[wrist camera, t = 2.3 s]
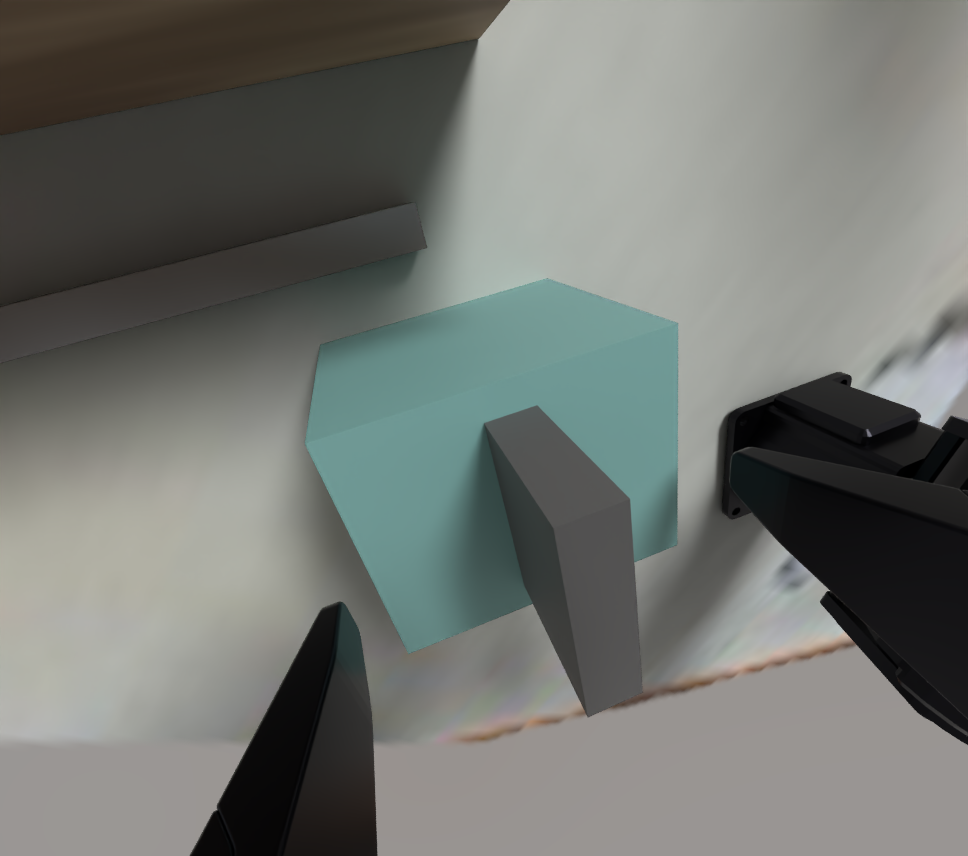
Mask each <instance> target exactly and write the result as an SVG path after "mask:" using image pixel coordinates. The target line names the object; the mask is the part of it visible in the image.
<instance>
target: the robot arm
mask: <svg viewBox="0 0 968 856" xmlns="http://www.w3.org/2000/svg"><path fill="white" fill-rule="evenodd" d="M851 380H852V378H851V376H850V375H848V374H845V373H842V372H836V373H833V374H831V375H828V376H825V377H822V378H820V379H817V380H814V381H811V382H809V383H806V384H803V385H800V386H798V387H795V388H792V389H789V390H787V391H784V392H781V393H778V394H776V395H773V396H770V397H767V398H765V399H762V400H759V401H756V402H754V403H751V404H748V405H745V406H743V407H740V408H738V409H736V410H734V411H733V412H732V413H731V415H730V417H729V420H728V434H727V449H726V463H725V478H724V492H723V506H722V512H723V514H724V515H726V516H727V517H728V518H729V519H736V518H738V517H741V516H743V515H746V514H748V513H751V512H752V513H753V514H754V515H755V516H756V517H757V518H758V520H759V521H760V522H761V523H762V524H763V525H764V526H765V528H766V529H767V530H768V531H769V532H770V533H771V534H772V535H773V536H774V537H775V539H776V540H777V541H778V542H779V543H780V544H781V545H782V546H783V547H784V548H785V549H786V550H787V551H788V552H789V553H791V554H792V555H793V556H794V557H795V558H796V559H797V560H798V561H799V562H800V563H801V564H802V565H803V566H804V567H805V568H807V569H808V570H809V571H810V572H811V573H812V574H813V575H814V576H815V577H816V578H817V579H818V580H819V581H820V582H822V583H823V584H824V585H825V586H826V587H827V588H828V589H829V590H830V591H827V592H826V593H825V595H824V596H823V598H822V599H821V600H820V603H821V604H822V606H823V607H824V608H825V609H826V610H827V611H828V612H829V613H830V615H831V616H832V617H833V618H834V619H835V620H836V622H837V623H838V624H839V625H840V627H841V628H842V629H843V630H844V631H845V632H846V633H847V634H848V636H849V637H850V638H851V639H852V640H853V641H854V642H855V643H856V645H857V646H858V647H859V648H860V649H861V650H862V651H863V652H864V653H865V655H866V656H867V657H868V658H869V659H870V660H871V661H872V662H873V664H874V665H875V666H876V667H877V668H878V669H879V670H880V671H881V673H882V674H883V675H884V676H885V677H886V678H887V679H888V680H889V681H890V683H891V684H892V685H893V686H894V687H895V688H896V689H897V690H898V691H899V693H900V694H901V695H902V696H903V697H904V698H905V699H906V701H907V702H908V703H909V704H910V705H911V706H912V707H913V708H914V709H915V710H916V711H917V712H918V713H919V714H920V715H922V716H923V717H925V718H926V719H928V720H930V721H932V722H934V723H935V724H936V725H938V726H939V727H940V728H942V729H943V730H945V731H946V732H948V733H950V734H951V735H952V736H954V737H956V738H957V739H959V740H960V741H962V742H964V743H966V744H967V745H968V419H963V418H959V417H954V416H950V417H949V419H948V420H947V422H946V423H945V424H944V426H943V427H942V430H941V429H938V428H936V427H933V426H930V425H927V424H925V423H922V422H919V421H920V418H921V415H920V413H918V412H917V411H916V410H915V409H912V408H909V407H906V406H904V405H901V404H898V403H895V402H892V401H889V400H886V399H884V398H881V397H878V396H875V395H872V394H869V393H867V392H864V391H861V390H858V389H855V388H852V387H850V386H851ZM375 804H376V803H375V777H374V749H373V724H372V711H371V703H370V696H369V689H368V683H367V676H366V669H365V663H364V656H363V649H362V643H361V636H360V632H359V629H358V627H357V625H356V623H355V621H354V619H353V618H352V616H351V614H350V612H349V610H348V609H347V607H346V605H345V604H344V603H343V602H337V603H334V604H332V605H329V606H326V607H324V608H322V609H321V611H320V612H319V614H318V616H317V617H316V619H315V621H314V623H313V625H312V627H311V629H310V631H309V633H308V634H307V636H306V638H305V640H304V642H303V644H302V646H301V648H300V649H299V651H298V653H297V655H296V657H295V659H294V661H293V663H292V665H291V666H290V668H289V670H288V672H287V674H286V676H285V678H284V680H283V682H282V683H281V685H280V687H279V689H278V691H277V693H276V695H275V697H274V699H273V700H272V702H271V704H270V706H269V708H268V710H267V712H266V714H265V715H264V717H263V719H262V721H261V723H260V725H259V727H258V729H257V731H256V732H255V734H254V736H253V738H252V740H251V742H250V744H249V746H248V748H247V749H246V751H245V753H244V755H243V757H242V759H241V761H240V763H239V765H238V767H237V769H236V770H235V772H234V774H233V776H232V778H231V780H230V781H229V784H228V785H227V787H226V789H225V791H224V793H223V795H222V797H221V798H220V800H219V803H218V804H217V810H216V811H214V812H213V813H212V815H211V817H210V819H209V821H208V823H207V825H206V826H205V828H204V830H203V832H202V834H201V836H200V838H199V840H198V841H197V843H196V845H195V847H194V849H193V850H192V852H191V854H190V856H377V831H376V805H375Z"/></svg>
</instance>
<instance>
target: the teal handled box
mask: <svg viewBox="0 0 968 856" xmlns="http://www.w3.org/2000/svg"><path fill="white" fill-rule="evenodd" d="M305 445H306V447H307V449H308V451H309V453H310V455H311V457H312V460H313V462H314V464H315V466H316V468H317V470H318V472H319V474H320V476H321V478H322V480H323V482H324V484H325V486H326V488H327V490H328V492H329V494H330V496H331V498H332V500H333V502H334V504H335V506H336V508H337V510H338V512H339V514H340V516H341V518H342V520H343V522H344V524H345V526H346V528H347V530H348V532H349V535H350V537H351V539H352V541H353V543H354V545H355V547H356V549H357V551H358V553H359V555H360V557H361V559H362V561H363V563H364V565H365V567H366V569H367V571H368V573H369V575H370V577H371V579H372V581H373V583H374V585H375V587H376V589H377V591H378V593H379V595H380V597H381V599H382V601H383V603H384V605H385V607H386V609H387V612H388V614H389V616H390V618H391V620H392V622H393V624H394V626H395V628H396V630H397V632H398V634H399V636H400V638H401V640H402V642H403V644H404V646H405V648H406V650H407V652H408V654H410V653H412V652H415V651H417V650H420V649H422V648H425V647H427V646H430V645H432V644H434V643H437V642H439V641H442V640H444V639H447V638H449V637H452V636H454V635H457V634H459V633H462V632H464V631H467V630H469V629H471V628H474V627H476V626H479V625H481V624H484V623H486V622H489V621H491V620H494V619H496V618H499V617H501V616H503V615H506V614H508V613H511V612H513V611H516V610H518V609H521V608H523V607H526V606H528V605H531V604H533V605H534V607H535V609H536V611H537V613H538V615H539V617H540V619H541V621H542V623H543V625H544V627H545V630H546V632H547V634H548V636H549V638H550V640H551V642H552V644H553V646H554V648H555V650H556V652H557V654H558V656H559V659H560V661H561V663H562V665H563V667H564V669H565V671H566V673H567V675H568V677H569V679H570V681H571V683H572V685H573V687H574V690H575V692H576V694H577V696H578V698H579V700H580V702H581V704H582V706H583V708H584V710H585V712H586V714H587V716H588V717H590V716H592V715H594V714H597V713H599V712H601V711H603V710H605V709H608V708H610V707H612V706H614V705H616V704H619V703H621V702H623V701H625V700H627V699H630V698H632V697H634V696H636V695H638V694H641V693H643V691H642V675H641V660H640V644H639V629H638V613H637V597H636V582H635V566H634V562H637V561H639V560H642V559H644V558H646V557H649V556H651V555H654V554H656V553H659V552H661V551H664V550H666V549H669V548H671V547H674V546H676V545H677V483H678V323H676V322H673V321H670V320H667V319H664V318H661V317H659V316H656V315H653V314H650V313H647V312H644V311H641V310H638V309H635V308H632V307H629V306H626V305H624V304H621V303H618V302H615V301H612V300H609V299H606V298H603V297H600V296H597V295H594V294H591V293H588V292H586V291H583V290H580V289H577V288H574V287H571V286H568V285H565V284H562V283H559V282H556V281H553V280H551V279H548V278H547V279H543V280H540V281H537V282H533V283H530V284H526V285H523V286H519V287H516V288H513V289H509V290H506V291H502V292H499V293H496V294H492V295H489V296H485V297H482V298H478V299H475V300H472V301H468V302H465V303H461V304H458V305H454V306H451V307H448V308H444V309H441V310H437V311H434V312H431V313H427V314H424V315H420V316H417V317H413V318H410V319H407V320H403V321H400V322H396V323H393V324H390V325H386V326H383V327H379V328H376V329H372V330H369V331H366V332H362V333H359V334H355V335H352V336H349V337H345V338H342V339H338V340H335V341H331V342H328V343H325V344H321V345H320V350H319V356H318V363H317V369H316V375H315V382H314V388H313V395H312V401H311V407H310V414H309V420H308V426H307V433H306V439H305Z"/></svg>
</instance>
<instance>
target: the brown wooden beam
mask: <svg viewBox="0 0 968 856" xmlns="http://www.w3.org/2000/svg"><path fill="white" fill-rule="evenodd" d="M509 1H510V0H0V135H4V134H9V133H14V132H19V131H24V130H29V129H34V128H39V127H44V126H49V125H54V124H58V123H63V122H68V121H73V120H78V119H83V118H88V117H93V116H98V115H103V114H108V113H113V112H118V111H123V110H128V109H133V108H138V107H143V106H147V105H152V104H157V103H162V102H167V101H172V100H177V99H182V98H187V97H192V96H197V95H202V94H207V93H212V92H217V91H222V90H227V89H232V88H236V87H241V86H246V85H251V84H256V83H261V82H266V81H271V80H276V79H281V78H286V77H291V76H296V75H301V74H306V73H311V72H316V71H321V70H326V69H330V68H335V67H340V66H345V65H350V64H355V63H360V62H365V61H370V60H375V59H380V58H385V57H390V56H395V55H400V54H405V53H410V52H415V51H419V50H424V49H429V48H434V47H439V46H444V45H449V44H454V43H459V42H464V41H469V40H474V39H479V38H480V37H481V36H482V34H483V33H484V32H485V31H486V29H487V28H488V27H489V26H490V25H491V23H492V22H493V21H494V20H495V18H496V17H497V16H498V15H499V13H500V12H501V11H502V10H503V9H504V7H505V6H506V5H507V4H508V2H509ZM425 248H427V245H426V241H425V237H424V233H423V230H422V226H421V222H420V218H419V214H418V210H417V207H416V203H415V202H413V203H407V204H403V205H399V206H395V207H391V208H387V209H383V210H379V211H375V212H371V213H367V214H363V215H359V216H355V217H351V218H347V219H343V220H340V221H336V222H332V223H328V224H324V225H320V226H316V227H312V228H308V229H304V230H300V231H296V232H292V233H288V234H284V235H280V236H276V237H272V238H268V239H264V240H261V241H257V242H253V243H249V244H245V245H241V246H237V247H233V248H229V249H225V250H221V251H217V252H213V253H209V254H205V255H201V256H197V257H193V258H189V259H185V260H182V261H178V262H174V263H170V264H166V265H162V266H158V267H154V268H150V269H146V270H142V271H138V272H134V273H130V274H126V275H122V276H118V277H114V278H110V279H106V280H103V281H99V282H95V283H91V284H87V285H83V286H79V287H75V288H71V289H67V290H63V291H59V292H55V293H51V294H47V295H43V296H39V297H35V298H31V299H28V300H24V301H20V302H16V303H12V304H8V305H4V306H0V363H3V362H7V361H10V360H14V359H18V358H21V357H25V356H29V355H32V354H36V353H40V352H44V351H47V350H51V349H55V348H58V347H62V346H66V345H69V344H73V343H77V342H81V341H84V340H88V339H92V338H95V337H99V336H103V335H106V334H110V333H114V332H118V331H121V330H125V329H129V328H132V327H136V326H140V325H144V324H147V323H151V322H155V321H158V320H162V319H166V318H169V317H173V316H177V315H181V314H184V313H188V312H192V311H195V310H199V309H203V308H206V307H210V306H214V305H218V304H221V303H225V302H229V301H232V300H236V299H240V298H243V297H247V296H251V295H255V294H258V293H262V292H266V291H269V290H273V289H277V288H280V287H284V286H288V285H292V284H295V283H299V282H303V281H306V280H310V279H314V278H318V277H321V276H325V275H329V274H332V273H336V272H340V271H343V270H347V269H351V268H355V267H358V266H362V265H366V264H369V263H373V262H377V261H380V260H384V259H388V258H392V257H395V256H399V255H403V254H406V253H410V252H414V251H417V250H421V249H425Z"/></svg>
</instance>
